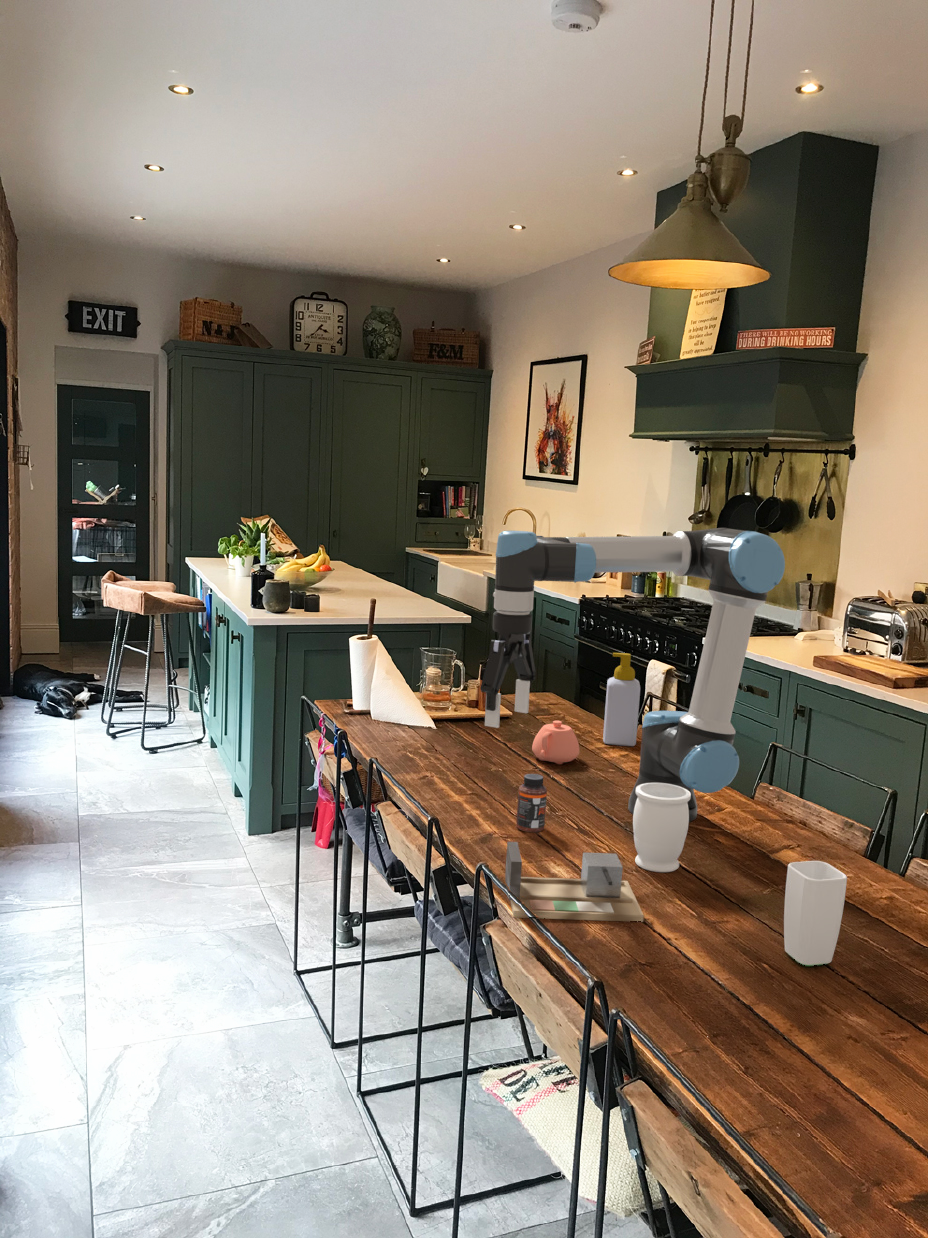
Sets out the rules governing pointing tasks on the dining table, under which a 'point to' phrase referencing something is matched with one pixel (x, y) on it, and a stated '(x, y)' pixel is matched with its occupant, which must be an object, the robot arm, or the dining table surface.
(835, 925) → the cup
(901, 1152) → the dining table surface
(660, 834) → the jar
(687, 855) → the dining table surface
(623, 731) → the soap bottle
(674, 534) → the robot arm
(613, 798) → the dining table surface
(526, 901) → the gauge board
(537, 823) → the supplement bottle
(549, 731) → the sugar bowl
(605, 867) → the block
